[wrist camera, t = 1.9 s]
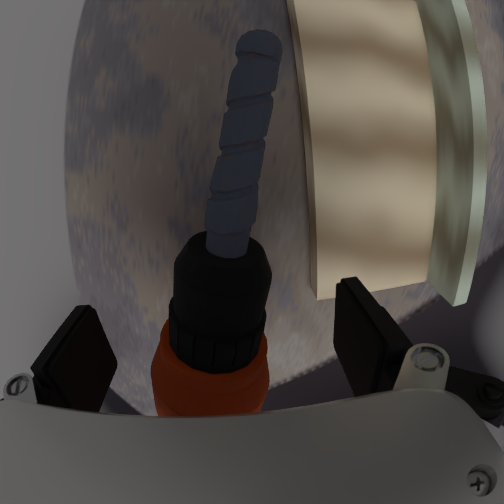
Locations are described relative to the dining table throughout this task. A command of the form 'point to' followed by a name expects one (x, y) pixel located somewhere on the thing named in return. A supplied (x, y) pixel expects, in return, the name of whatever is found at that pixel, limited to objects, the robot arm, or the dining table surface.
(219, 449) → the robot arm
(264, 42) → the toy drill
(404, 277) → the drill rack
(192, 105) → the dining table surface
